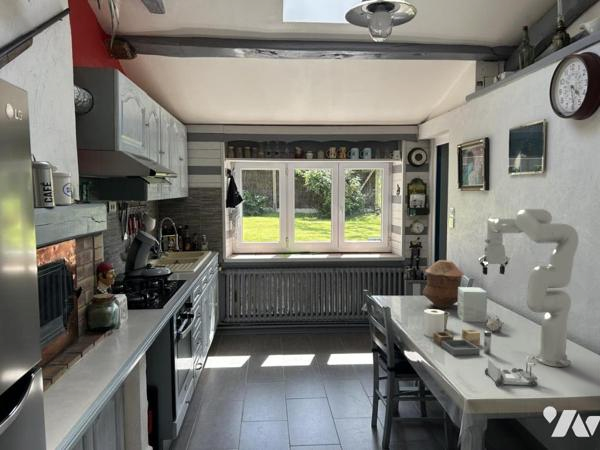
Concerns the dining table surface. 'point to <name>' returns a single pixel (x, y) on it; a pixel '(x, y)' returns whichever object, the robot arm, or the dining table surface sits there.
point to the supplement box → (472, 304)
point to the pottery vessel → (443, 283)
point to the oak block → (471, 336)
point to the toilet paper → (433, 321)
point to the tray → (460, 347)
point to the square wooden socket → (441, 337)
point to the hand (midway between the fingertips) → (493, 274)
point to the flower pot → (445, 319)
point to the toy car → (512, 374)
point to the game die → (494, 324)
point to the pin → (487, 342)
